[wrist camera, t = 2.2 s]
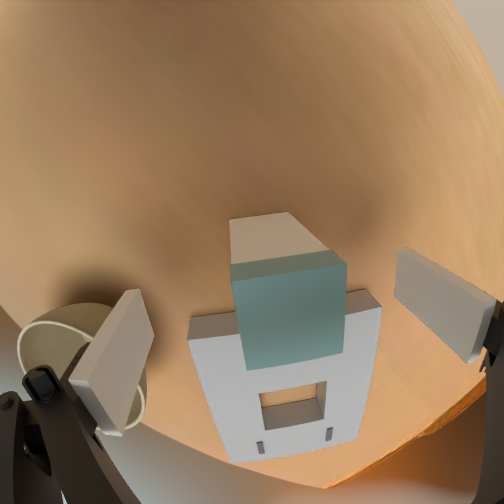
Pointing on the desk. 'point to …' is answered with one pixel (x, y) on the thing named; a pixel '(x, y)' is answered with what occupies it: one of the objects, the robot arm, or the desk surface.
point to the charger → (285, 291)
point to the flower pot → (70, 344)
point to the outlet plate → (286, 386)
